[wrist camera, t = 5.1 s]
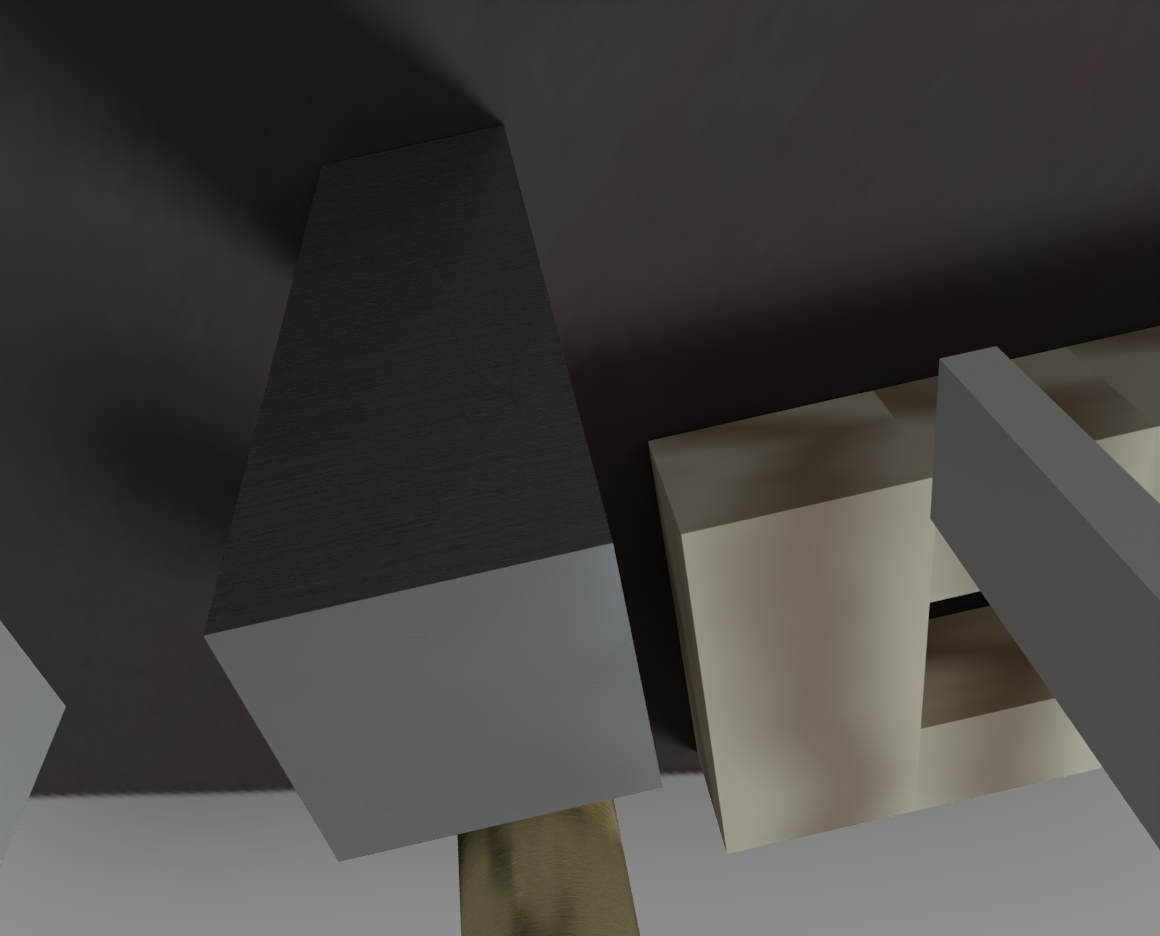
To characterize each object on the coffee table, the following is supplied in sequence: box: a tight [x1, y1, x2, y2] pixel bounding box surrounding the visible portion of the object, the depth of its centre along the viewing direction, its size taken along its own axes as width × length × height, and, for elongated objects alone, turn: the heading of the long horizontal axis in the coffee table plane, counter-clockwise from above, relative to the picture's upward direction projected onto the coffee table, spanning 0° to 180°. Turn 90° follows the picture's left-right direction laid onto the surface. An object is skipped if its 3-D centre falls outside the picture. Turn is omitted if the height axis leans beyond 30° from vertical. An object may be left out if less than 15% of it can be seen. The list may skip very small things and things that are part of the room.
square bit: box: [203, 125, 662, 861], centre depth 16 cm, size 4×4×14 cm
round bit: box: [457, 799, 640, 936], centre depth 24 cm, size 4×4×12 cm
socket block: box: [648, 326, 1160, 854], centre depth 28 cm, size 18×14×4 cm
